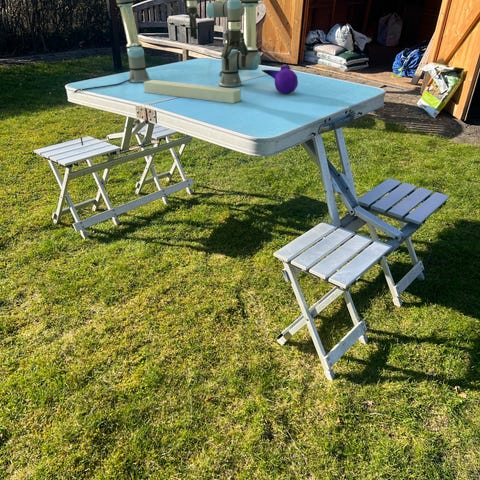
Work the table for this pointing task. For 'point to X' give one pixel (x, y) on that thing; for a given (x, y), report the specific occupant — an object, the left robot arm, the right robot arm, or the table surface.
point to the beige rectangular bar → (193, 91)
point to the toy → (284, 79)
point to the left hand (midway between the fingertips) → (193, 38)
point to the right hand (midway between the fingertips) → (235, 68)
